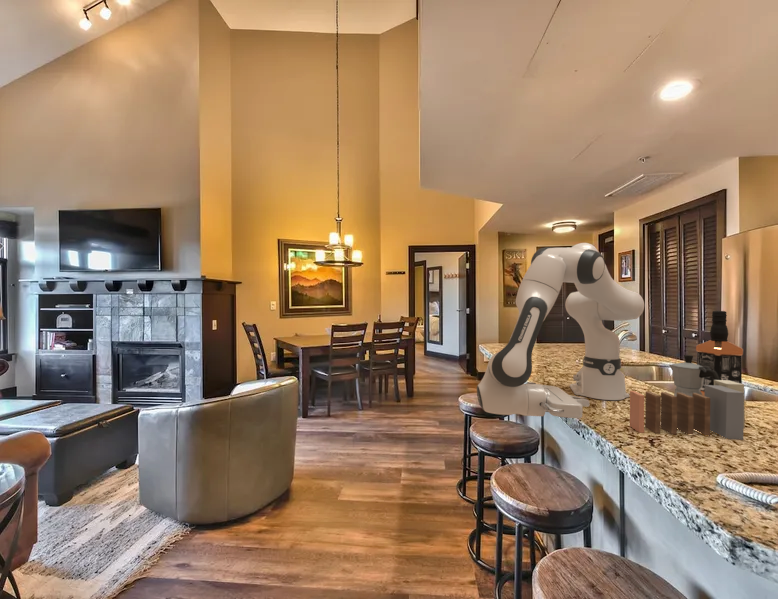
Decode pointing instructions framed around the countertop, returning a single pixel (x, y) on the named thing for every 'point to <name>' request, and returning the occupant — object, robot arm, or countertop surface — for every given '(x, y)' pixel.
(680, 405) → the walnut domino
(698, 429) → the walnut domino
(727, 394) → the end block
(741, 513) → the countertop surface
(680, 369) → the coffee maker
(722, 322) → the whiskey bottle
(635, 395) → the terracotta domino
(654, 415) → the walnut domino
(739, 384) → the skincare box
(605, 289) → the robot arm
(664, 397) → the walnut domino
